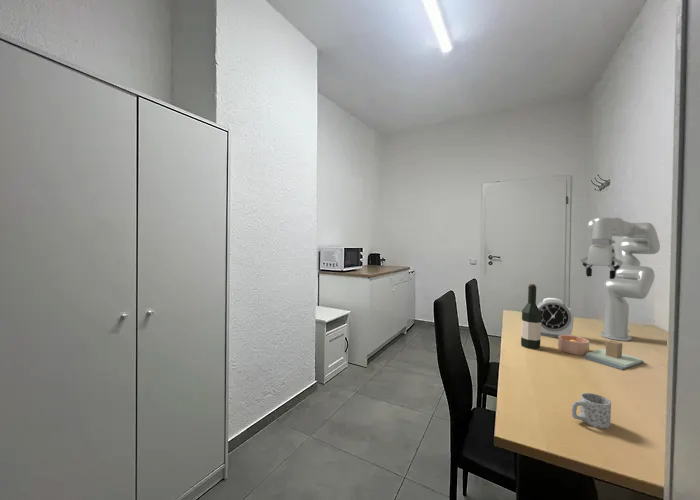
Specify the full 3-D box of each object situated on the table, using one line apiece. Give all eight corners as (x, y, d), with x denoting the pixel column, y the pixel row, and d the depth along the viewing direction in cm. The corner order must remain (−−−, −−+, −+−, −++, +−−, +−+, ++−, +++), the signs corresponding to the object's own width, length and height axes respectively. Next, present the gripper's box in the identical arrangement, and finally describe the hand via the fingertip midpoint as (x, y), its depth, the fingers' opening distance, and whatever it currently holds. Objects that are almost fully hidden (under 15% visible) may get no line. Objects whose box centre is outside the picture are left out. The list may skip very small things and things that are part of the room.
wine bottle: (544, 349, 145) (546, 285, 144) (526, 349, 145) (528, 285, 144) (534, 343, 153) (536, 283, 152) (517, 343, 153) (519, 283, 152)
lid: (603, 350, 143) (603, 335, 143) (642, 361, 130) (643, 345, 130) (586, 355, 137) (586, 339, 136) (625, 367, 124) (626, 350, 124)
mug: (596, 415, 91) (597, 392, 90) (616, 429, 84) (617, 405, 84) (563, 415, 90) (564, 392, 90) (580, 429, 84) (581, 405, 83)
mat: (604, 351, 143) (604, 350, 143) (643, 362, 131) (643, 361, 131) (582, 357, 135) (582, 356, 135) (621, 370, 123) (621, 368, 123)
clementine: (570, 346, 147) (571, 338, 147) (580, 349, 143) (580, 340, 143) (565, 347, 145) (566, 339, 145) (575, 350, 141) (575, 341, 141)
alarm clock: (532, 335, 167) (534, 298, 166) (531, 331, 174) (533, 295, 174) (573, 340, 159) (574, 301, 158) (570, 336, 166) (572, 298, 165)
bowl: (566, 344, 152) (567, 333, 152) (594, 352, 142) (594, 340, 141) (552, 348, 147) (553, 336, 147) (579, 356, 136) (580, 344, 136)
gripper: (627, 243, 146) (625, 279, 146) (586, 242, 161) (584, 275, 162) (619, 243, 142) (617, 280, 143) (577, 242, 158) (576, 275, 158)
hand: (600, 277), depth 152 cm, fingers open, 9 cm apart
